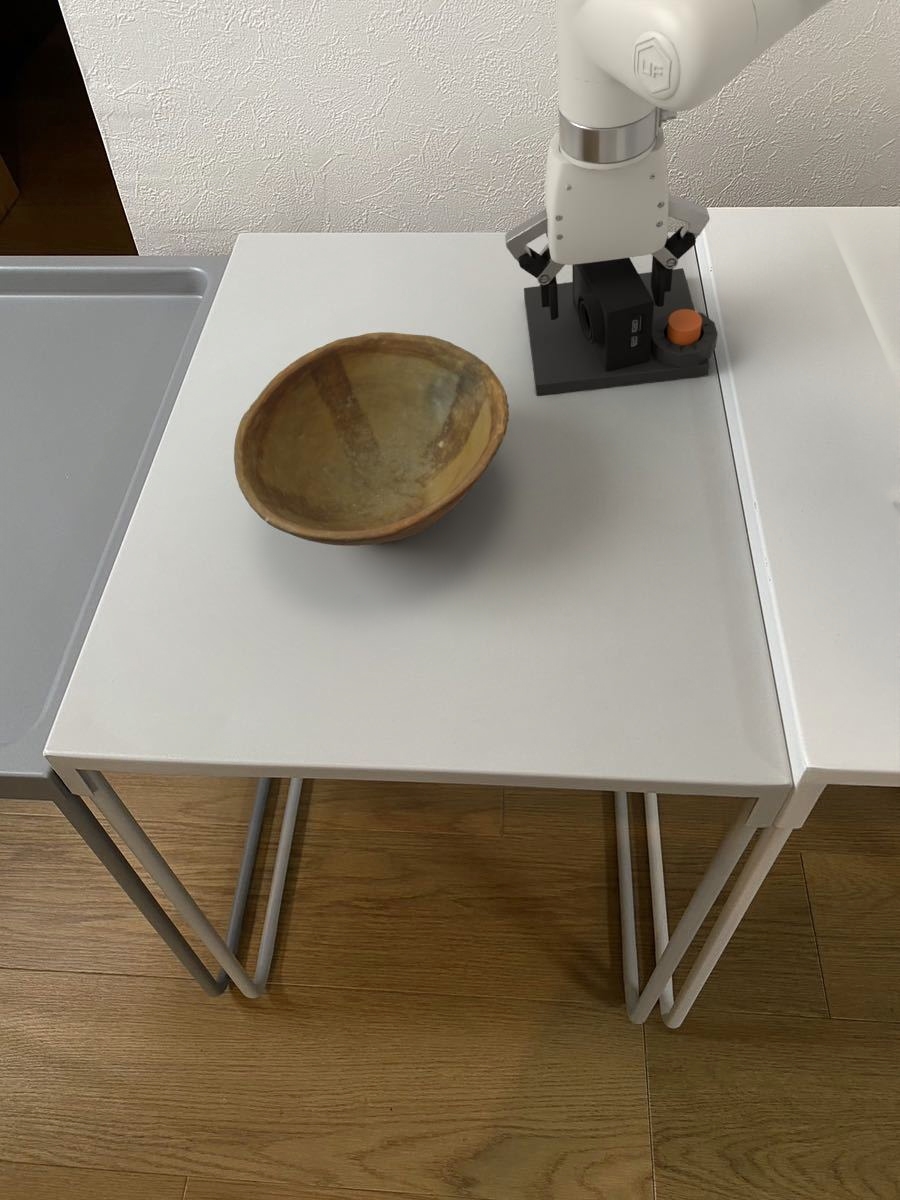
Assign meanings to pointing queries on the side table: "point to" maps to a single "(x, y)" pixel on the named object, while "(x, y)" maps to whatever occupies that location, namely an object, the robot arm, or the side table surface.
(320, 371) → the bowl
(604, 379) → the scale
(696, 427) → the side table surface
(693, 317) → the button
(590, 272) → the digital camera
